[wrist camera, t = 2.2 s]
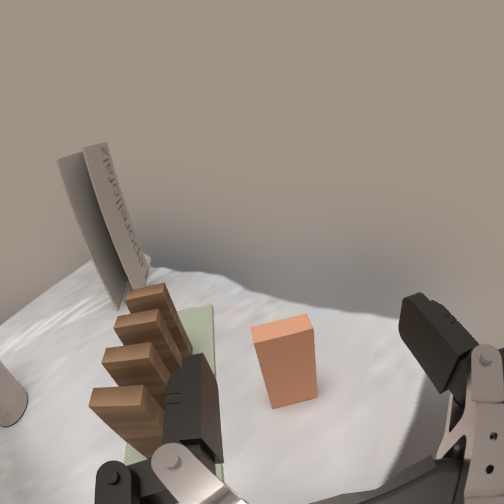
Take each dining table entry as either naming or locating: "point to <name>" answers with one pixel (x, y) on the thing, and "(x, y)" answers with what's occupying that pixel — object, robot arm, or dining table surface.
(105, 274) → the brochure
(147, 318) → the tile
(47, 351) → the dining table surface
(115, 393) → the tile
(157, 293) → the tile
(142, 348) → the tile
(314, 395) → the tile
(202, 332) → the mat
